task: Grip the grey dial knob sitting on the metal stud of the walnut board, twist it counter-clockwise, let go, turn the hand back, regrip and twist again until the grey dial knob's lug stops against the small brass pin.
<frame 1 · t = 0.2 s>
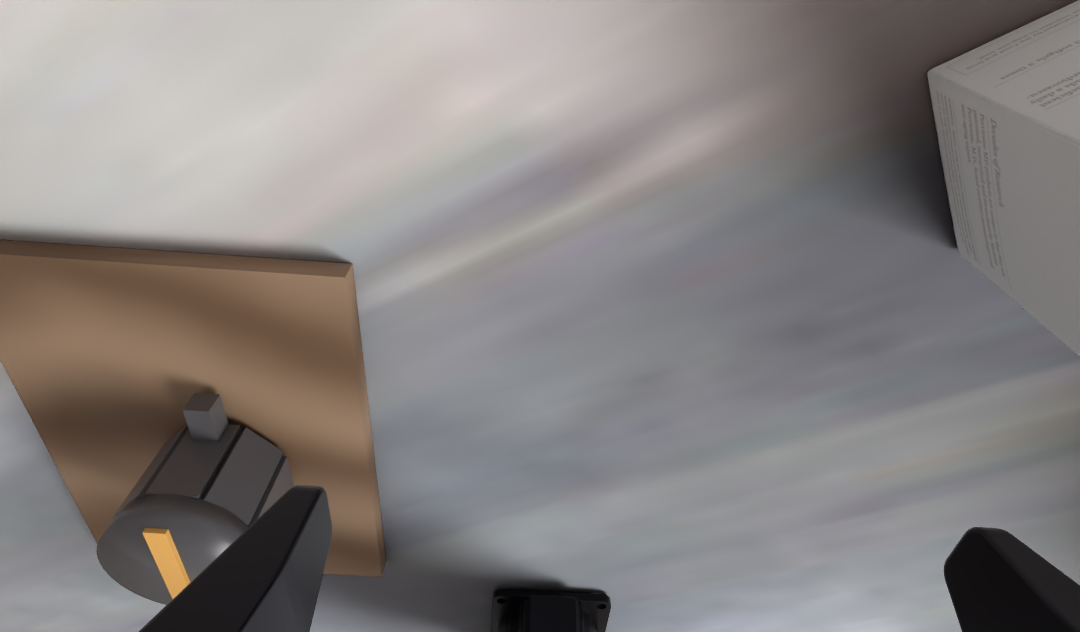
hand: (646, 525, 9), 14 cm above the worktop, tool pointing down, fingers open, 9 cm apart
supplement box: (1057, 117, 20), on the worktop
grey dial knob: (212, 409, 25), point 1 cm above the worktop, touching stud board
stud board: (241, 446, 28), on the worktop
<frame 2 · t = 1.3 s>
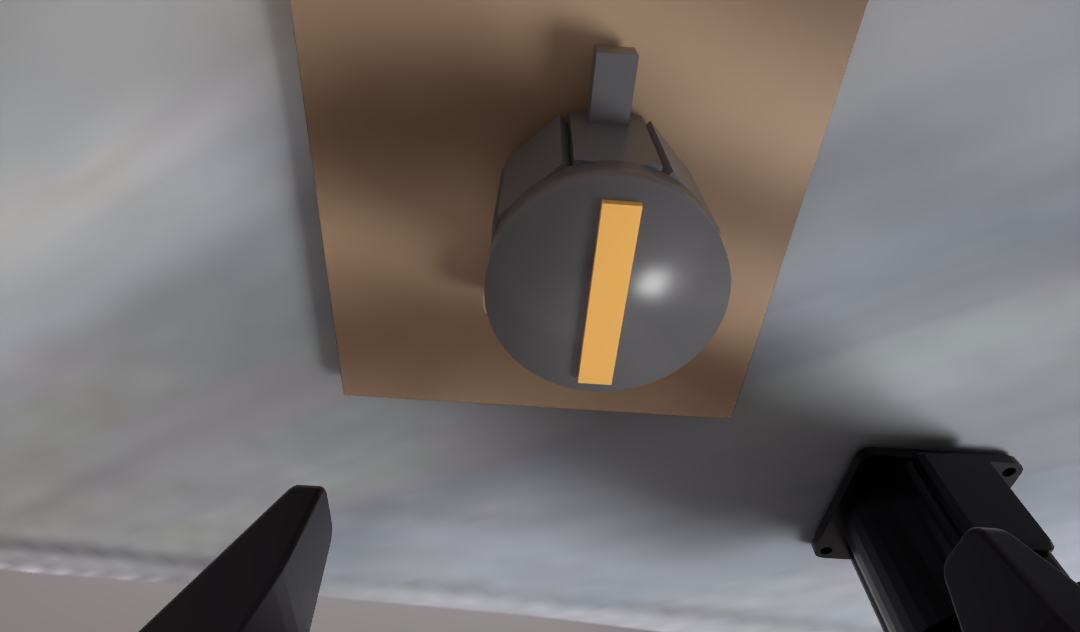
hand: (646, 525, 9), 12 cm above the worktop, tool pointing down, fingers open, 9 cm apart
grey dial knob: (609, 81, 16), point 1 cm above the worktop, touching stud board
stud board: (591, 189, 19), on the worktop
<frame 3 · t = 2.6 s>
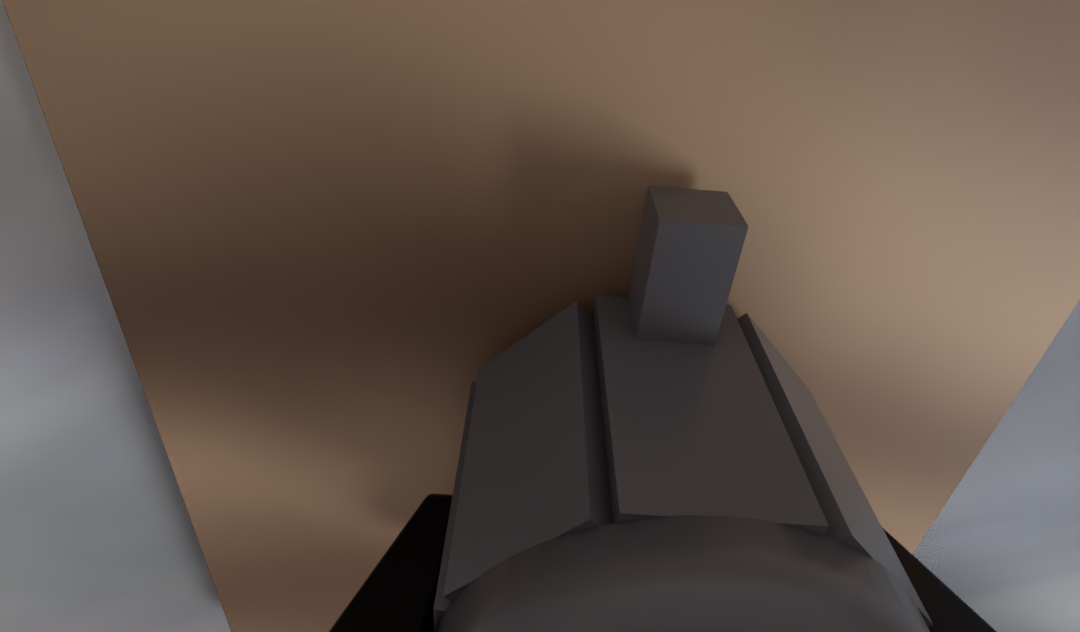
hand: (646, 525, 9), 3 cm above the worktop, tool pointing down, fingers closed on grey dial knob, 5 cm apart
grey dial knob: (674, 249, 8), point 1 cm above the worktop, touching gripper, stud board
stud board: (625, 385, 11), on the worktop
when the fingers open (3 cm above the worktop, at t = 3.8 s): grey dial knob stays where it is, resting on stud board.
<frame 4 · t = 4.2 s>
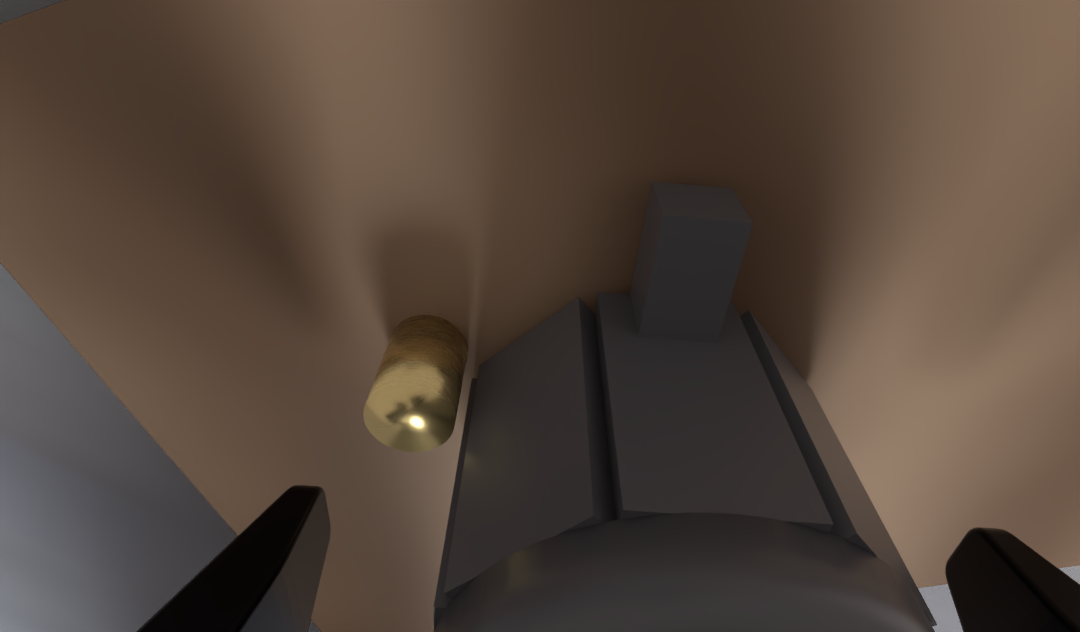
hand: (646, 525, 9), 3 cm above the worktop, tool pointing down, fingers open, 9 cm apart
stop pin: (438, 311, 10), resting on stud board
grey dial knob: (677, 245, 8), point 1 cm above the worktop, touching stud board
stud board: (626, 386, 11), on the worktop
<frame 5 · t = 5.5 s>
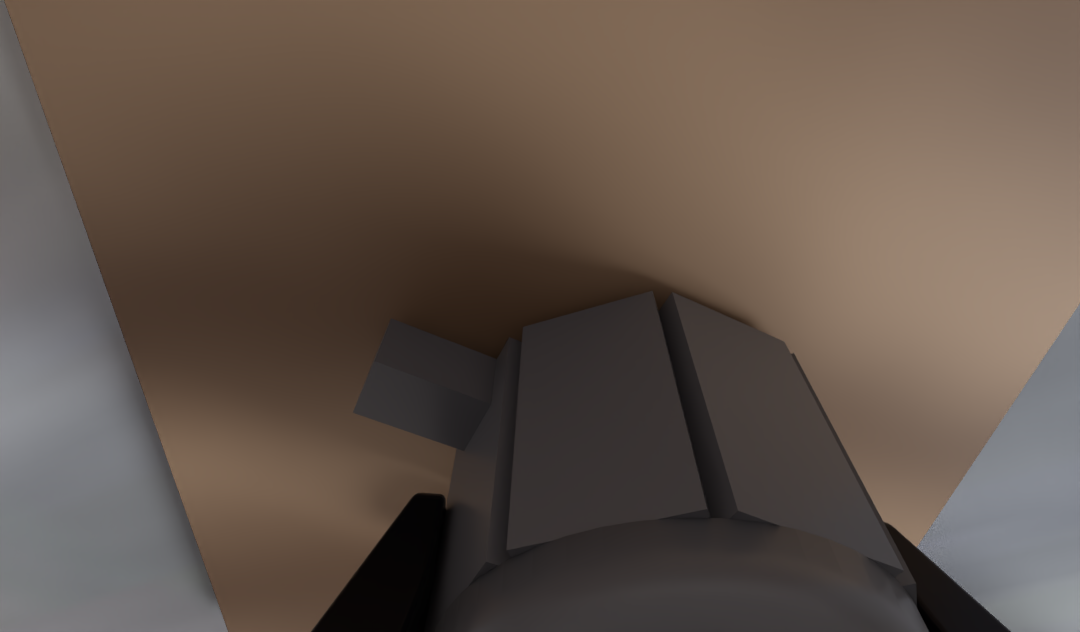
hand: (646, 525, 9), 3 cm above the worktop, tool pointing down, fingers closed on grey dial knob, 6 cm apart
grey dial knob: (434, 363, 9), point 1 cm above the worktop, touching gripper, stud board
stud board: (625, 386, 11), on the worktop
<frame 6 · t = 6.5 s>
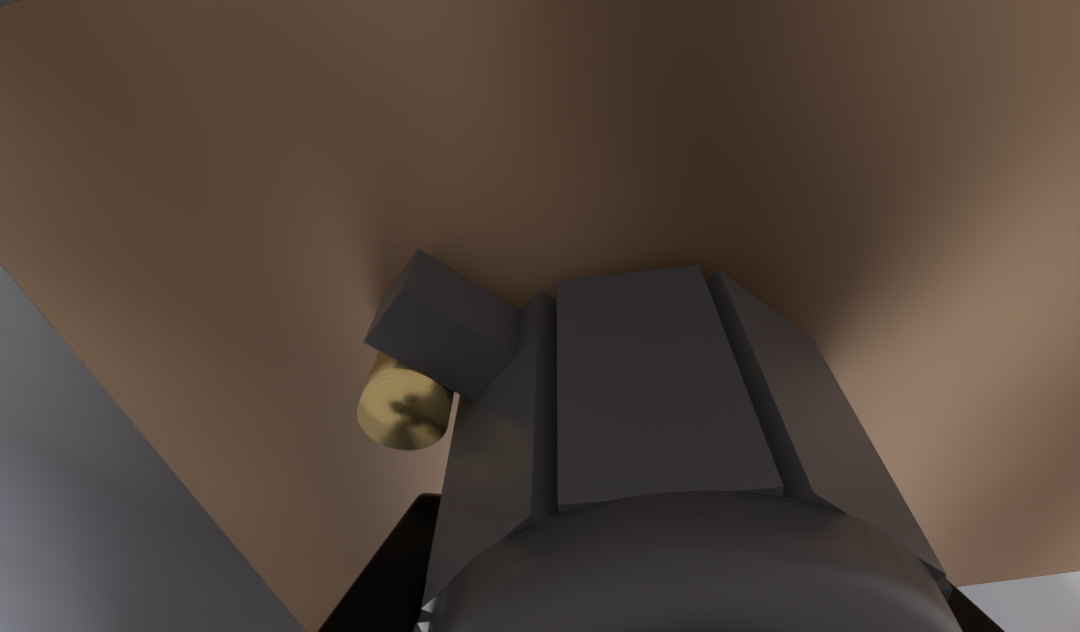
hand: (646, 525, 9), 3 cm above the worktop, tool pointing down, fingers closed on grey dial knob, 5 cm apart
stop pin: (433, 310, 10), resting on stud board
grey dial knob: (452, 305, 9), point 1 cm above the worktop, touching gripper, stop pin, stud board
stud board: (618, 388, 11), on the worktop
when the fingers open (3 cm above the worktop, at t = 6.6 s): grey dial knob stays where it is, resting on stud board.
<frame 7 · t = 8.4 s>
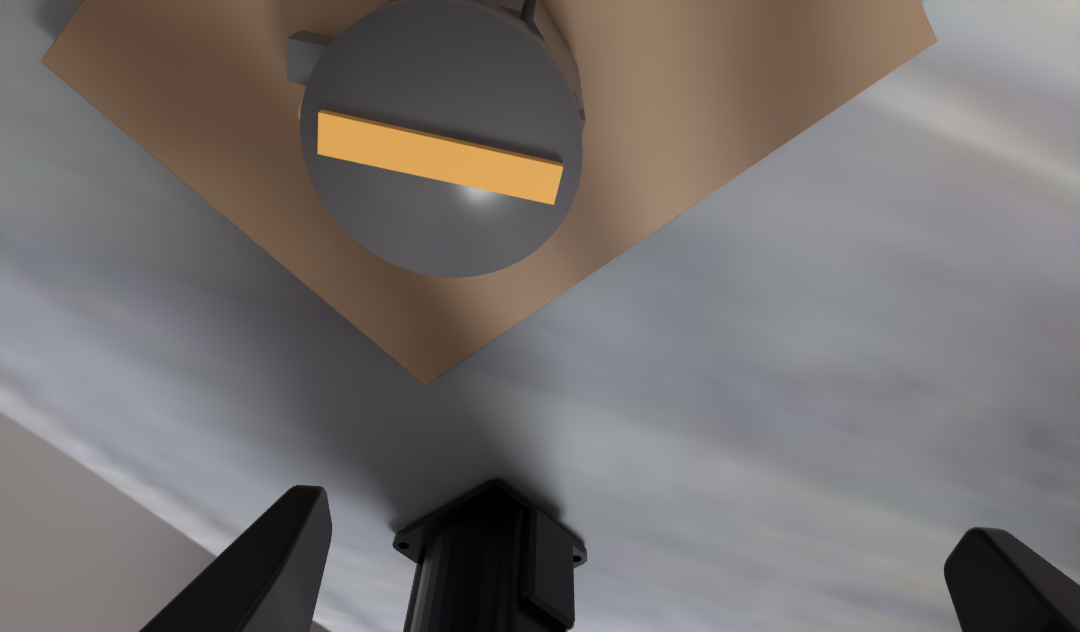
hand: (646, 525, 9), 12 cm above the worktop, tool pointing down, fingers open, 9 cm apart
grey dial knob: (335, 59, 16), point 1 cm above the worktop, touching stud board
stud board: (480, 97, 17), on the worktop
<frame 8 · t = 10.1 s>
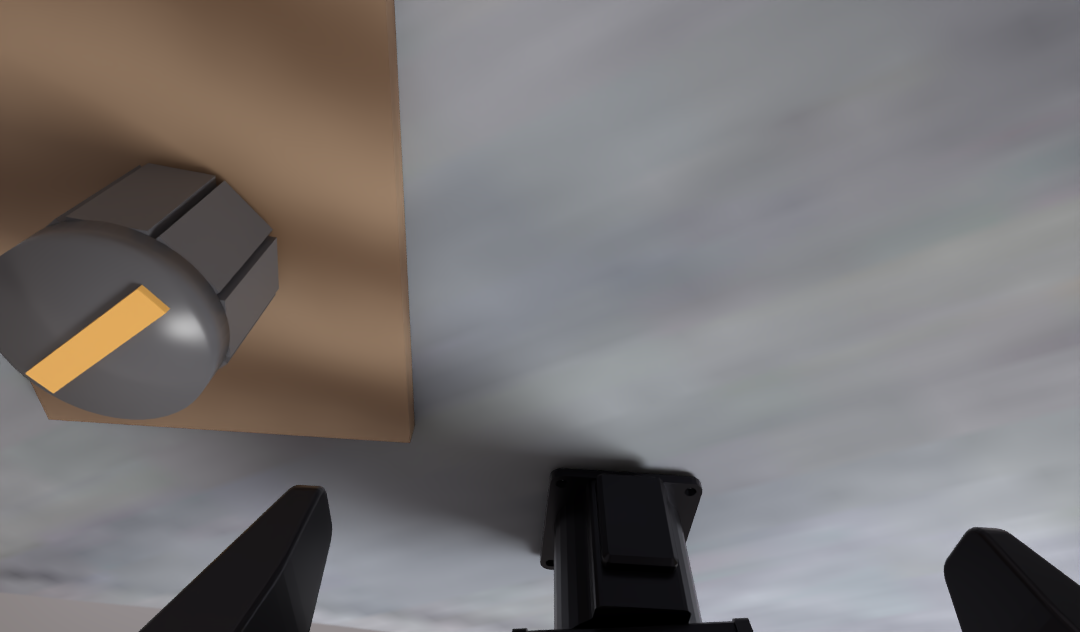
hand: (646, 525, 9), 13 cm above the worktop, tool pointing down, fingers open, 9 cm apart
grey dial knob: (124, 299, 21), point 1 cm above the worktop, touching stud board
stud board: (226, 238, 21), on the worktop
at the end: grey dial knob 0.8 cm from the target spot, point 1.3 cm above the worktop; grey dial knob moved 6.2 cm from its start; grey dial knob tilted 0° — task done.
